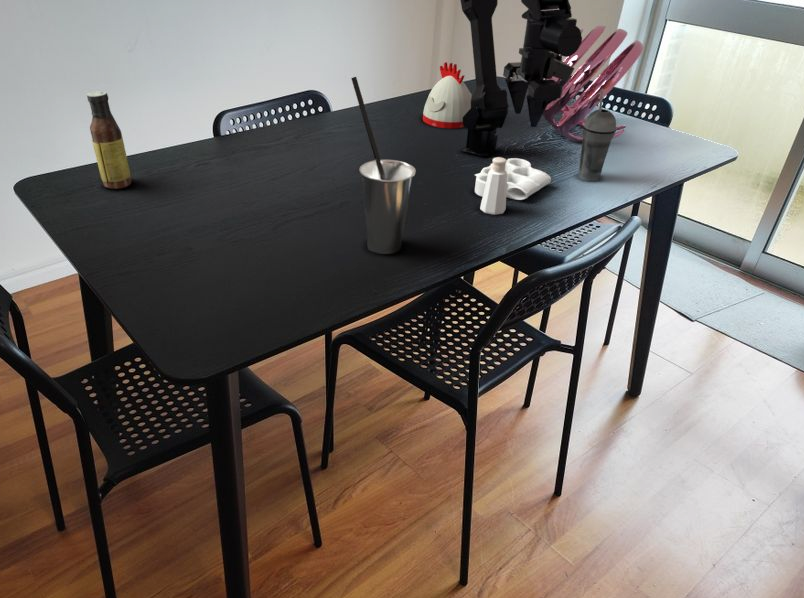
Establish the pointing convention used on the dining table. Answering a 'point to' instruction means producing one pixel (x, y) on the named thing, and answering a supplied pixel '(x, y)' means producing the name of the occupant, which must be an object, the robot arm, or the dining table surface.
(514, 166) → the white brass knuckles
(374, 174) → the steel tumbler with stirrer
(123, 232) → the dining table surface
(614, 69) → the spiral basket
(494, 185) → the salt shaker
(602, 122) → the beverage cup
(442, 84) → the kitchen timer
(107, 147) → the sauce bottle
